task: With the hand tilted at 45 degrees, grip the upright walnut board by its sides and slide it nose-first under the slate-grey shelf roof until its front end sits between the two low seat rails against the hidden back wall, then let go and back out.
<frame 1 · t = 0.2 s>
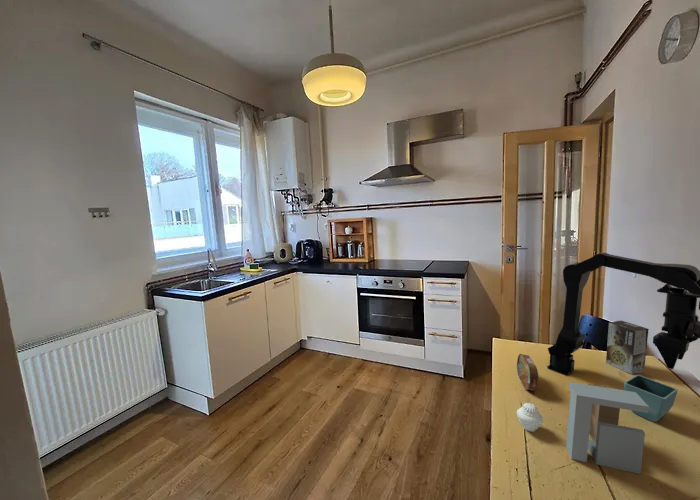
hand: (674, 363, 87), 15 cm above the table, tool pointing down, fingers open, 9 cm apart
flower pot: (646, 415, 87), on the table
walnut board: (599, 436, 80), on the table
coffee box: (624, 367, 113), on the table
shelf: (613, 460, 72), on the table
tin: (526, 383, 104), on the table
muffin: (528, 428, 83), on the table
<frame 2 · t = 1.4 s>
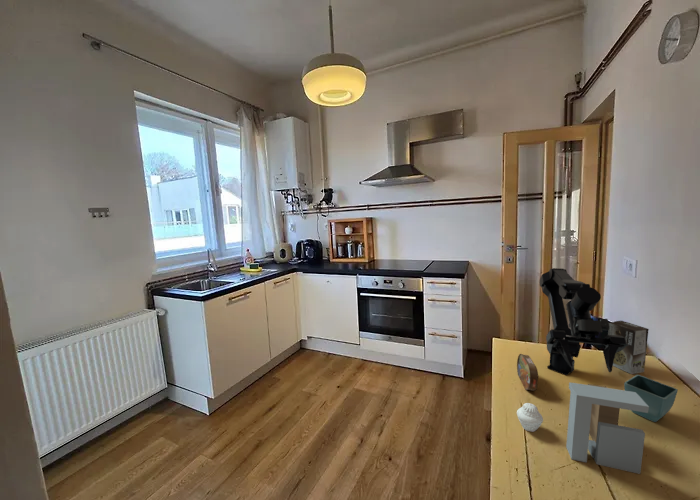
hand: (590, 369, 87), 13 cm above the table, tool tilted 45°, fingers open, 9 cm apart
nothing on the table moved.
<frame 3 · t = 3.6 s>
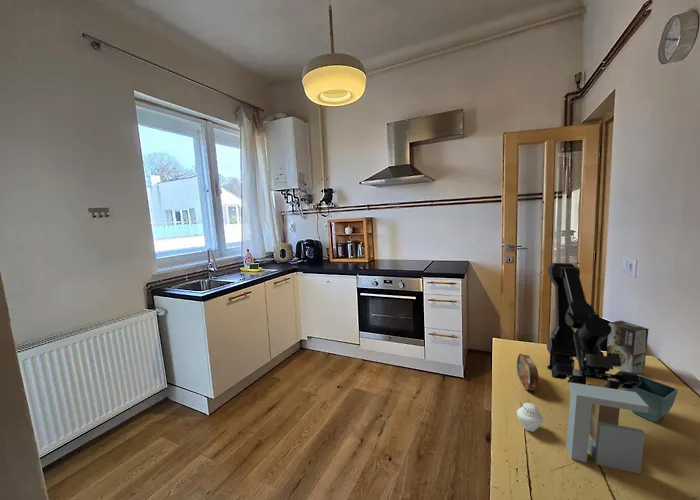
hand: (600, 409, 79), 7 cm above the table, tool tilted 45°, fingers closed on walnut board, 4 cm apart
walnut board: (599, 436, 80), on the table, touching gripper
everything else where it was.
when the fingers open (7 cm above the table, at t = 6.5 s): walnut board stays where it is, on the table.
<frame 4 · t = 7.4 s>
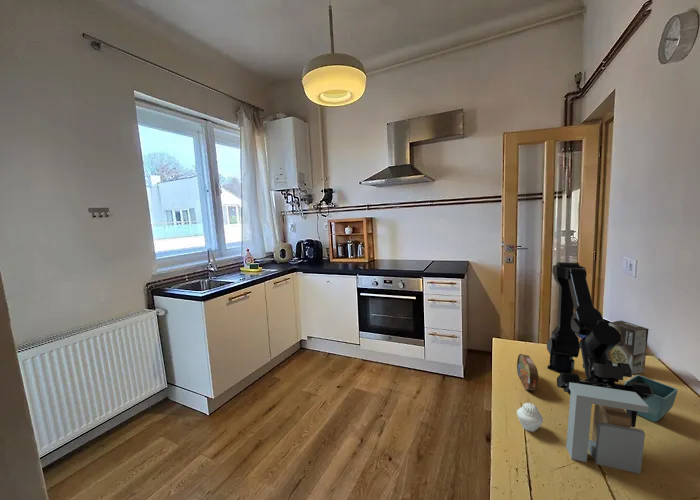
hand: (609, 422, 74), 7 cm above the table, tool tilted 45°, fingers open, 9 cm apart
walnut board: (608, 451, 75), on the table
everything else where it was.
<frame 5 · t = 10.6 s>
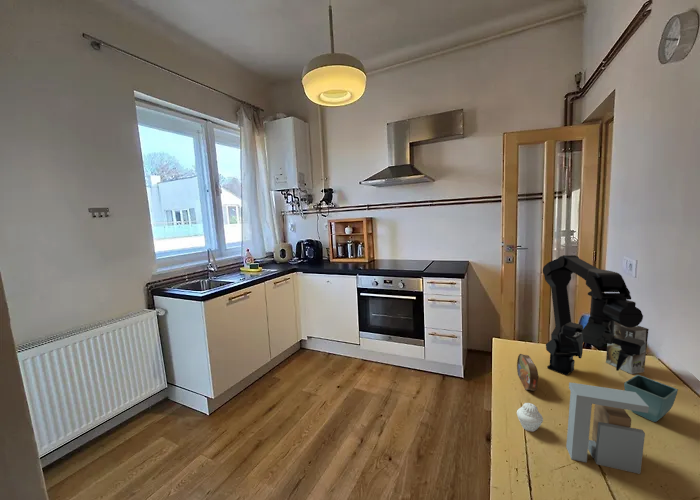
hand: (598, 363, 92), 12 cm above the table, tool pointing down, fingers open, 9 cm apart
nothing on the table moved.
at the end: walnut board 0.3 cm from the target spot, on the table; walnut board tilted 0°; the gripper is holding nothing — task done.
